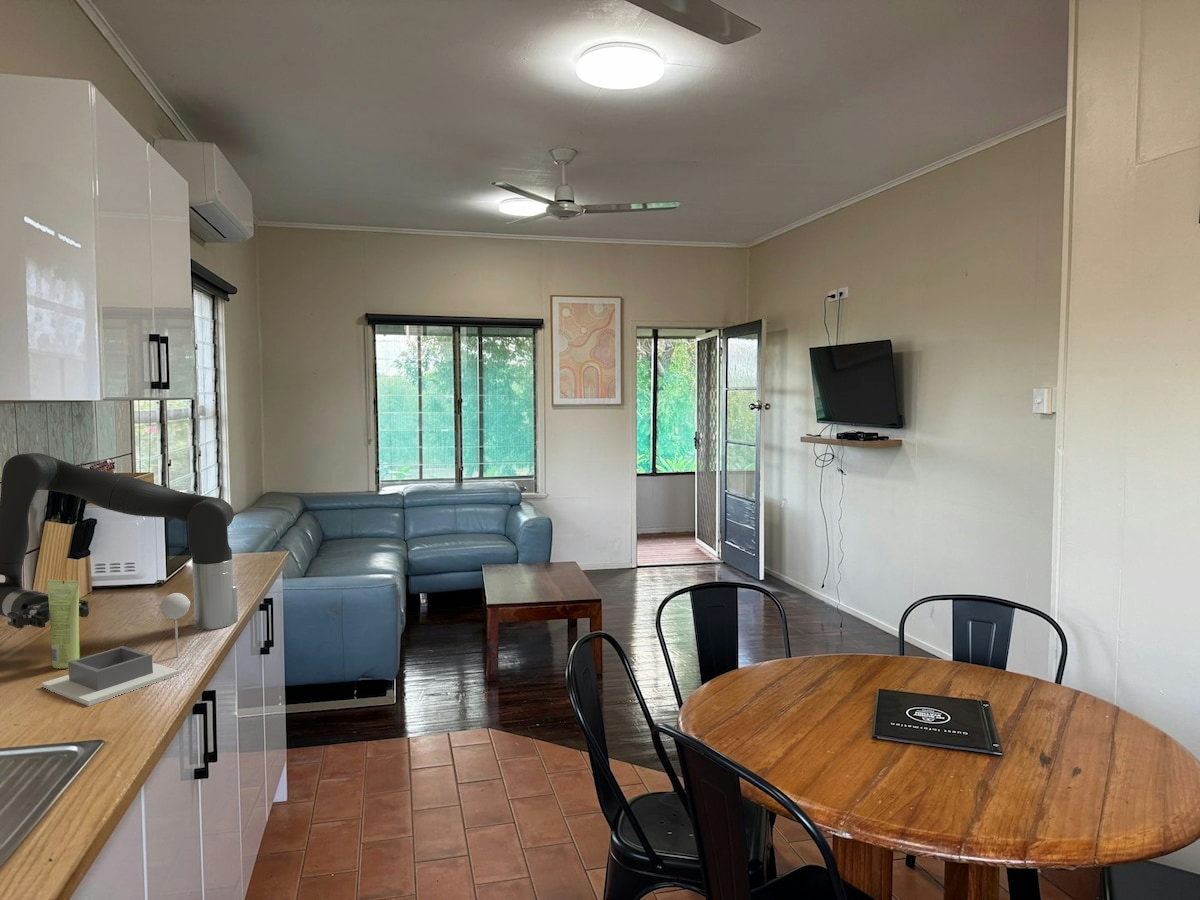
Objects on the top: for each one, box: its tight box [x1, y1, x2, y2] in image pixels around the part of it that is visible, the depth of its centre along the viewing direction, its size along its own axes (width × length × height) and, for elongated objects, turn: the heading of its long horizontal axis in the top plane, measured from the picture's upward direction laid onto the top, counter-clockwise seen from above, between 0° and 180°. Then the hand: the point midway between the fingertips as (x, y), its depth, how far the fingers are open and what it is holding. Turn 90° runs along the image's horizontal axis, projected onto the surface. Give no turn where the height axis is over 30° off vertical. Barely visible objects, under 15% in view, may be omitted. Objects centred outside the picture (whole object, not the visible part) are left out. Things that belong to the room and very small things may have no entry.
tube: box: [46, 579, 81, 669], centre depth 165 cm, size 6×5×20 cm
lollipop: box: [159, 592, 191, 657], centre depth 171 cm, size 6×6×15 cm
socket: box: [41, 645, 180, 707], centre depth 157 cm, size 18×18×5 cm
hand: (65, 617), depth 165 cm, fingers open, 8 cm apart
